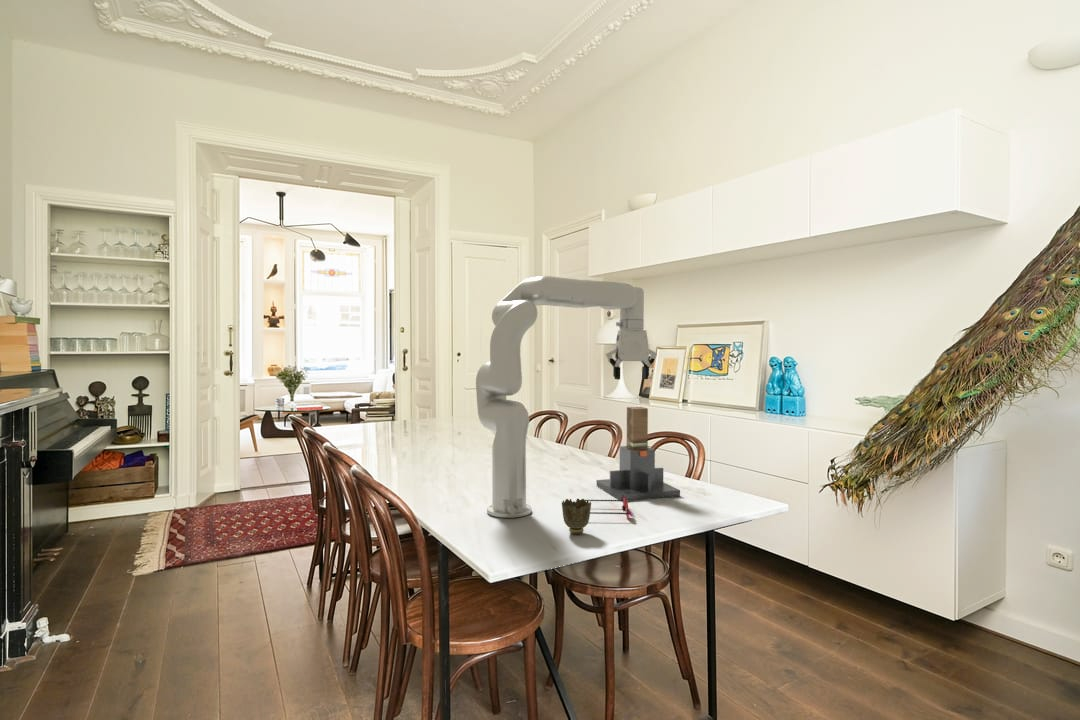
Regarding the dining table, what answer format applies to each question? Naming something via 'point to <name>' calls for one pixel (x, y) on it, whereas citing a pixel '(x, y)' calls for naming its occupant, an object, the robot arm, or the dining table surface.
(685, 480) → the dining table surface
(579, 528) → the cup
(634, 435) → the column
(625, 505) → the glasses
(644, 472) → the stand
